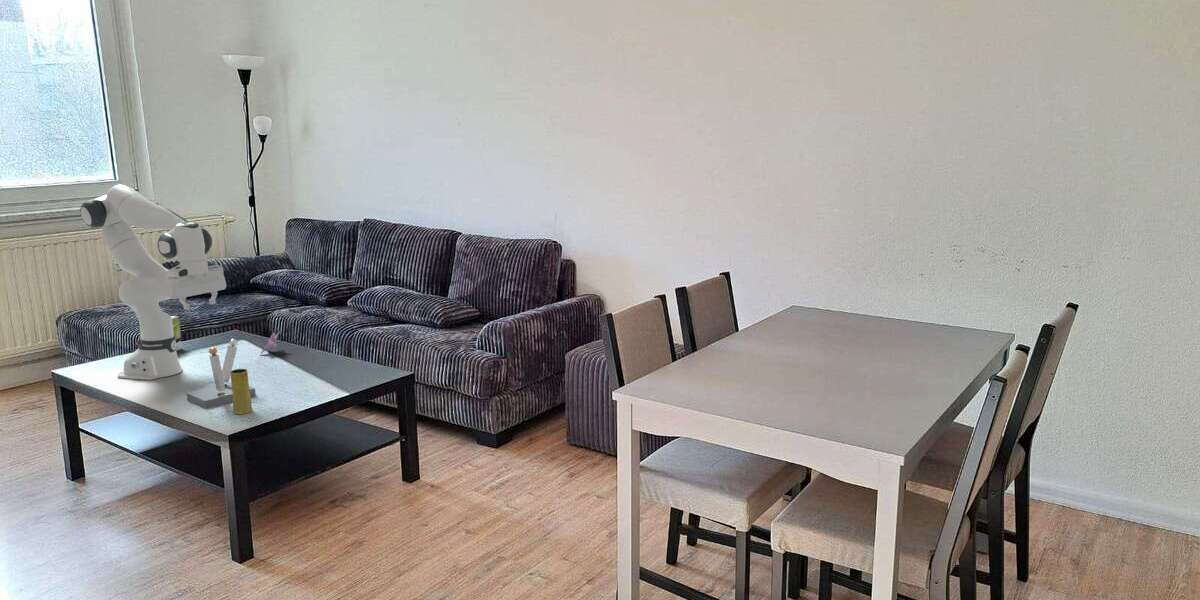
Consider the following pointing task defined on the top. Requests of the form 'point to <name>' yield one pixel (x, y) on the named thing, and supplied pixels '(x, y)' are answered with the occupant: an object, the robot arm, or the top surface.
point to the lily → (271, 343)
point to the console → (214, 396)
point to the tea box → (175, 330)
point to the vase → (240, 391)
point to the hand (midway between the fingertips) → (200, 306)
